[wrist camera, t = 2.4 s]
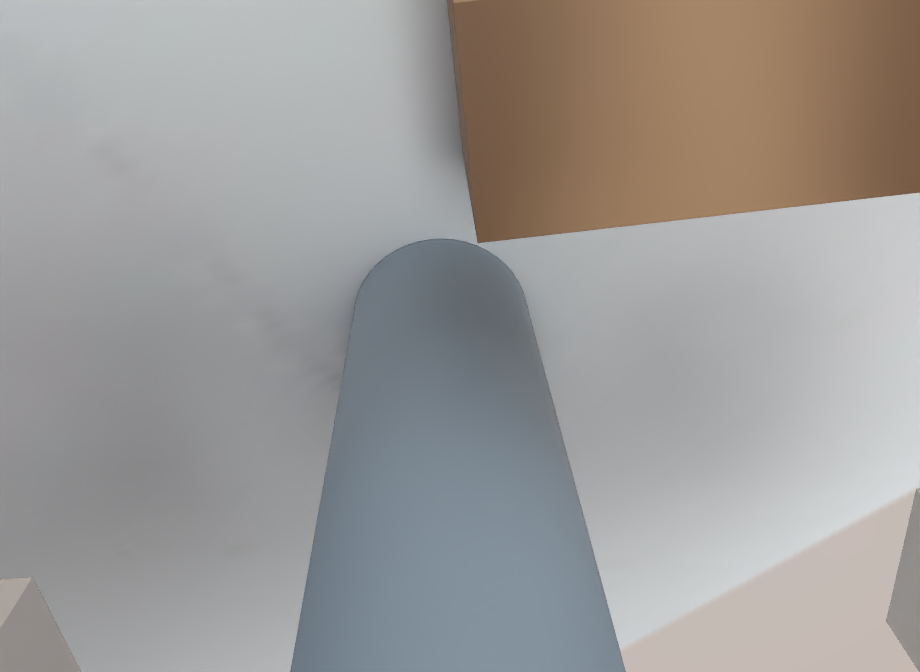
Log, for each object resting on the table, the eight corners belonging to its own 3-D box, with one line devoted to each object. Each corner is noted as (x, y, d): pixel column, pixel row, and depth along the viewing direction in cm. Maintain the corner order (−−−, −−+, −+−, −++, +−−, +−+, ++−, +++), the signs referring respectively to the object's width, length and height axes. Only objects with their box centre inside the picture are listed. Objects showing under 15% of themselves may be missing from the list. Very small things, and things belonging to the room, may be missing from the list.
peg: (369, 401, 20) (287, 1123, 8) (339, 250, 18) (169, 918, 6) (532, 383, 20) (697, 1084, 8) (521, 228, 18) (721, 861, 6)
